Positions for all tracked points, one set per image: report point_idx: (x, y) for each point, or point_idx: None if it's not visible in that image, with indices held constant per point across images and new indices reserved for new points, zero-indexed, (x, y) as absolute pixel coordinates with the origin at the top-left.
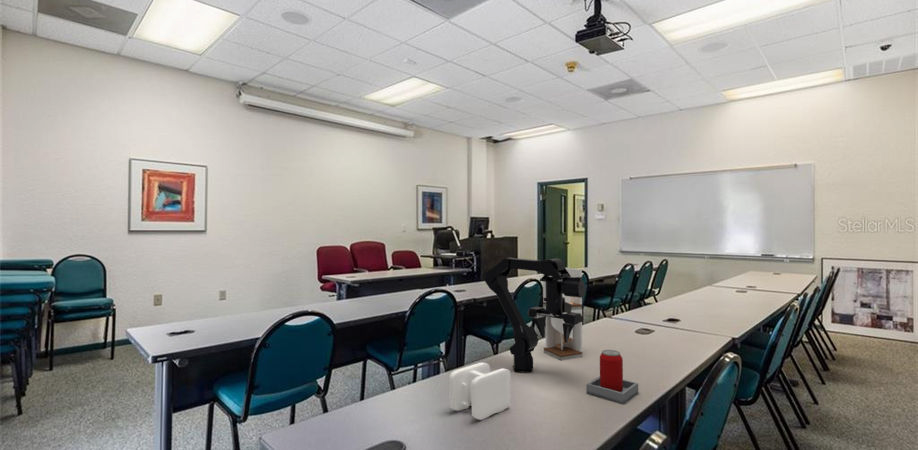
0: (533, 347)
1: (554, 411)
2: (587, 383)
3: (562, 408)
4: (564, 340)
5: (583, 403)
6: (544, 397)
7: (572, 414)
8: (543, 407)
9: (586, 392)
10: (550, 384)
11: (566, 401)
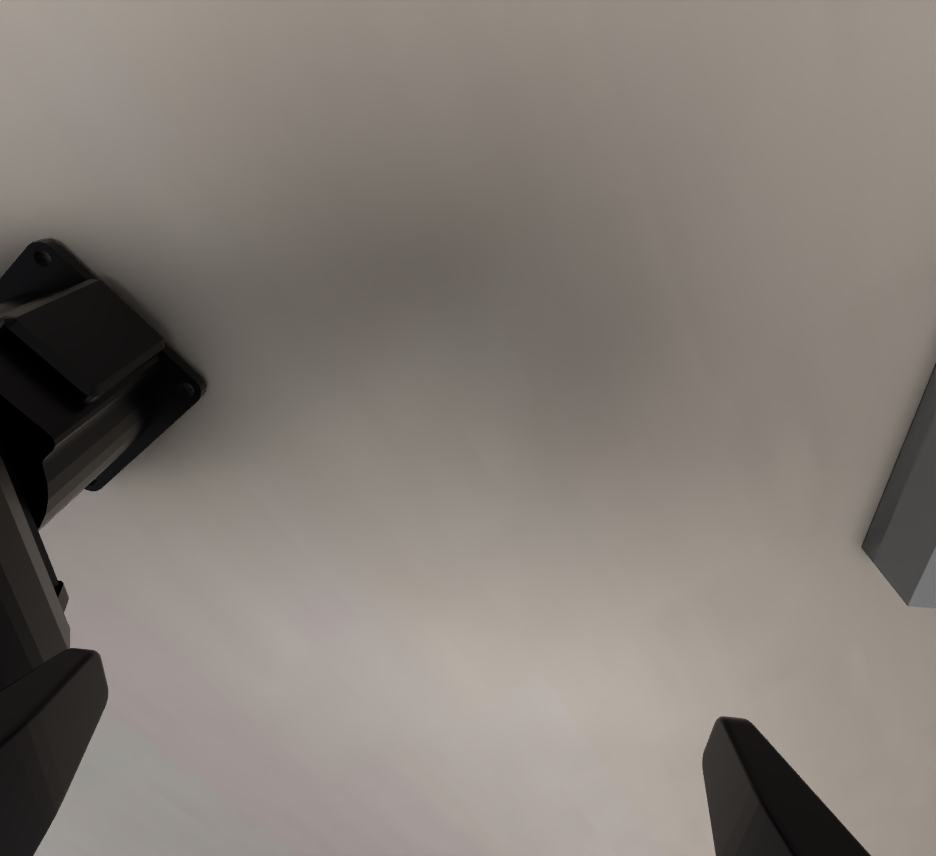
0: (6, 475)
1: None
2: (916, 590)
3: None
4: (712, 818)
5: (869, 695)
6: (592, 740)
7: None
8: (649, 834)
9: (867, 554)
10: (516, 540)
11: None
